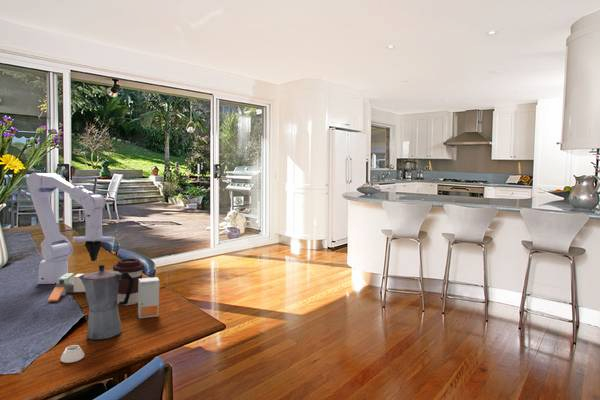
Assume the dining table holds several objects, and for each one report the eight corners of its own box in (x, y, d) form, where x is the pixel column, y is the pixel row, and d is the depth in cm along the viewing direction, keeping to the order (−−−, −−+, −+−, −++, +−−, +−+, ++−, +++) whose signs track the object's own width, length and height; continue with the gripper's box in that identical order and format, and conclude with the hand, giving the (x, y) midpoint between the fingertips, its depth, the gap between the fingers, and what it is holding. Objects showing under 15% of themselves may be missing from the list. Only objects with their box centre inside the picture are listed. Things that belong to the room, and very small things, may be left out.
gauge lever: (48, 302, 132) (47, 298, 131) (57, 287, 138) (56, 284, 138) (57, 301, 132) (57, 298, 132) (66, 287, 139) (65, 283, 138)
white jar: (79, 352, 99) (57, 359, 95) (79, 341, 99) (57, 347, 95) (87, 359, 96) (64, 366, 92) (87, 347, 95) (64, 354, 92)
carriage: (73, 291, 142) (73, 276, 141) (77, 288, 146) (77, 273, 145) (85, 291, 142) (85, 276, 142) (89, 288, 146) (89, 273, 146)
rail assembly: (57, 295, 139) (57, 279, 138) (66, 288, 147) (66, 273, 146) (112, 294, 142) (112, 278, 142) (118, 287, 150) (118, 272, 150)
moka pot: (86, 326, 114) (86, 260, 112) (139, 327, 115) (140, 261, 114) (69, 341, 104) (69, 268, 103) (128, 341, 106) (128, 270, 104)
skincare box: (138, 319, 121) (139, 282, 120) (137, 314, 125) (138, 278, 124) (159, 316, 124) (159, 280, 123) (157, 311, 128) (157, 276, 127)
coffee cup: (146, 297, 141) (146, 257, 140) (139, 307, 131) (140, 263, 130) (117, 297, 139) (117, 257, 138) (108, 307, 129) (109, 264, 128)
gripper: (69, 227, 143) (69, 263, 144) (111, 227, 146) (111, 262, 147) (76, 224, 150) (76, 258, 151) (116, 225, 153) (116, 258, 154)
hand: (93, 260), depth 150 cm, fingers closed
